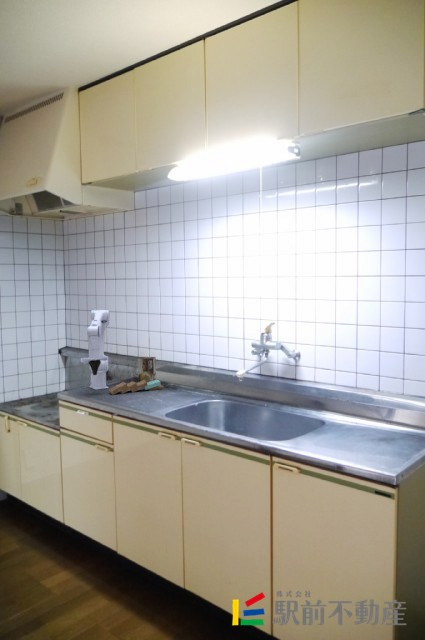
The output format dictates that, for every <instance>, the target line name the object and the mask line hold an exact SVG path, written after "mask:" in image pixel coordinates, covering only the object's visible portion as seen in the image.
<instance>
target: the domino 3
mask: <svg viewBox="0 0 425 640" xmlns="http://www.w3.org/2000/svg"><path fill="white" fill-rule="evenodd" d="M135 383H136V384H137V387H135V388H133V389H131V390H129V391H130V392H131V393H135V392H137V391H139V390H141V389H144V388H143V387H145V386H147V385H148V384H147V382H146V381H144V380H143V381H140V382H139V381H138V382H135Z"/></svg>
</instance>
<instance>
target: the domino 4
mask: <svg viewBox="0 0 425 640" xmlns="http://www.w3.org/2000/svg"><path fill="white" fill-rule="evenodd" d="M147 384H148V385H147V386H145V387H143V388H142V389H143V390H147V389H150V388H153V387H156V386H159V385H162V383H161V381H160V380H159V379H156V380H154V381H151V382H148V383H147Z"/></svg>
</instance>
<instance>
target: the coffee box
mask: <svg viewBox="0 0 425 640" xmlns="http://www.w3.org/2000/svg"><path fill="white" fill-rule="evenodd" d="M156 361H157V360H156V356H140V357H138V358H137V365H138V366H137V368H138V369H137V372H138V373H137V375H138V376H137V377H138V378H137V379H138V382H140V381H143V380H144V381H146V382H147V383H148V382H151V381H154V380H157V375H156V374H157V362H156Z"/></svg>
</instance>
